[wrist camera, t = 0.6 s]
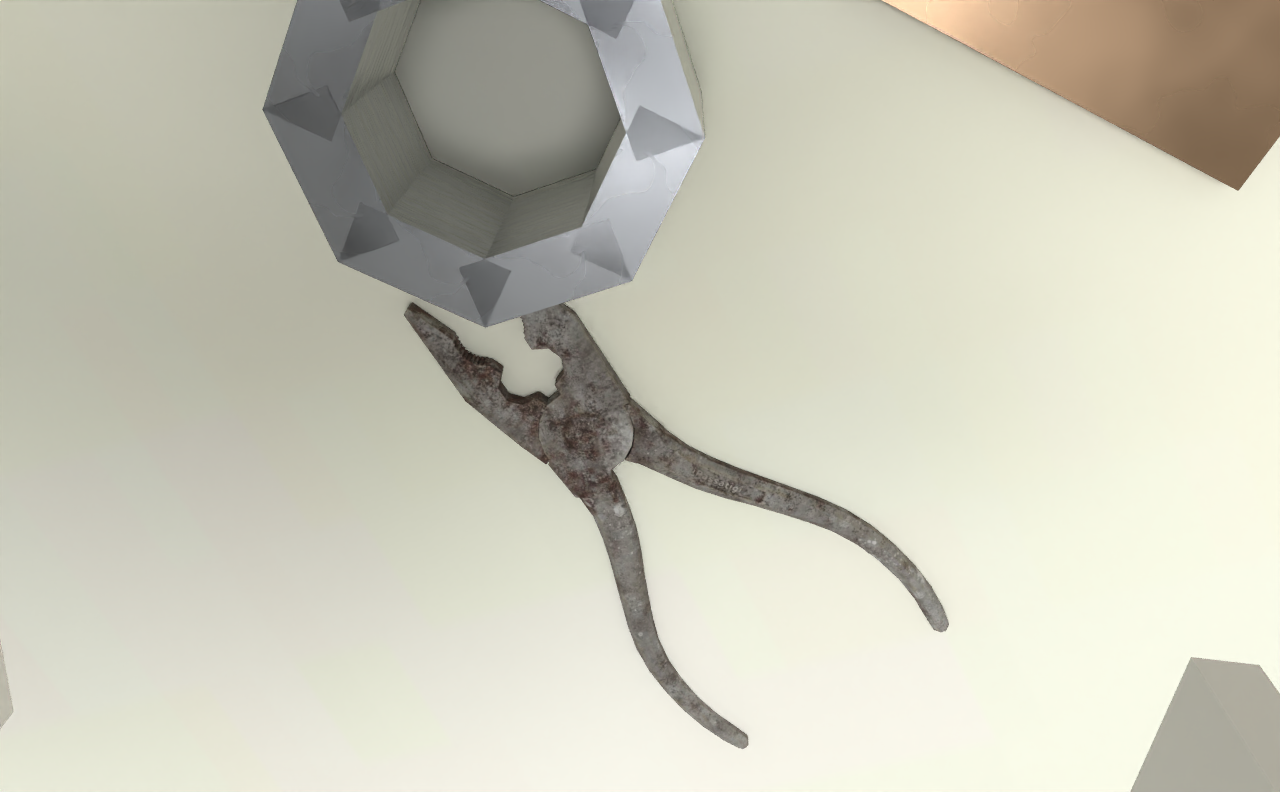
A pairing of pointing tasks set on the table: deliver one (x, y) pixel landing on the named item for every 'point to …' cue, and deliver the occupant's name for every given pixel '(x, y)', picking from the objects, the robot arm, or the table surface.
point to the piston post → (1142, 66)
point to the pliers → (602, 438)
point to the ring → (459, 204)
